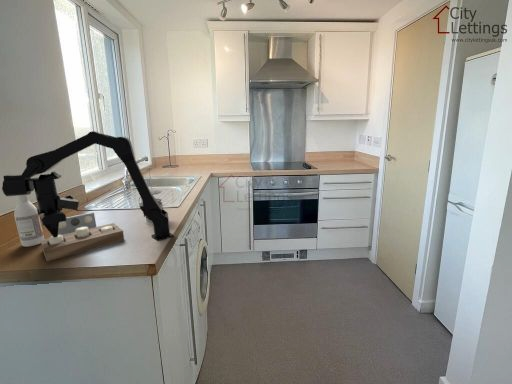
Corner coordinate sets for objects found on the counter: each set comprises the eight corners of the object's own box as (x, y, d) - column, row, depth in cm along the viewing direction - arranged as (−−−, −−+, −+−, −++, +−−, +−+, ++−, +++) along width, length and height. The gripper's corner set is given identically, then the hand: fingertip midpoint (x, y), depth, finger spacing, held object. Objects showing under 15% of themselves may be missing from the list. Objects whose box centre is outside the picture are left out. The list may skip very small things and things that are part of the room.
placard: (97, 231, 116) (94, 212, 114) (56, 240, 107) (52, 221, 105) (96, 230, 117) (93, 212, 115) (56, 239, 108) (52, 220, 106)
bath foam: (46, 242, 105) (35, 191, 101) (23, 248, 100) (10, 195, 96) (42, 238, 110) (31, 189, 105) (20, 243, 105) (7, 192, 100)
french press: (159, 225, 120) (152, 168, 115) (135, 224, 123) (128, 168, 117) (170, 218, 130) (165, 165, 124) (148, 217, 132) (141, 165, 126)
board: (124, 240, 105) (122, 230, 104) (46, 261, 90) (44, 250, 89) (115, 232, 114) (113, 223, 113) (42, 250, 98) (40, 239, 97)
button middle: (91, 238, 101) (89, 228, 100) (78, 242, 98) (76, 231, 97) (88, 235, 104) (86, 225, 103) (76, 238, 101) (74, 228, 100)
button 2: (115, 237, 107) (113, 227, 106) (104, 240, 104) (102, 230, 103) (112, 234, 109) (110, 225, 109) (101, 237, 107) (99, 227, 106)
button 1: (65, 247, 96) (63, 236, 95) (51, 251, 93) (49, 240, 93) (63, 244, 99) (61, 233, 98) (50, 247, 96) (47, 236, 95)
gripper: (80, 192, 90) (88, 237, 94) (70, 185, 104) (77, 224, 107) (37, 199, 83) (47, 247, 87) (32, 190, 97) (41, 232, 100)
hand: (55, 236), depth 95 cm, fingers closed, pressing on button 1
